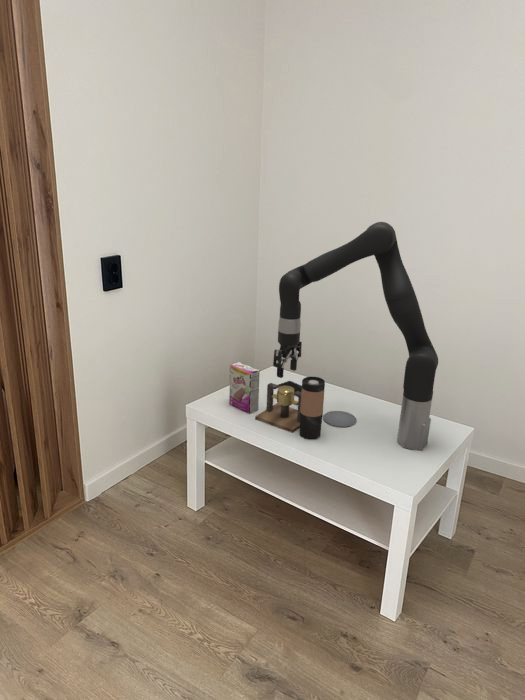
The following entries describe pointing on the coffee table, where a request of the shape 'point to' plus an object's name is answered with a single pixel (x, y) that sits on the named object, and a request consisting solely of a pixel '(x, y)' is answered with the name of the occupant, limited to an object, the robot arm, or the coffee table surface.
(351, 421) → the coaster
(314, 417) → the travel mug
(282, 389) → the brass pipe fitting
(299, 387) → the phone
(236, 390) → the candy bar box
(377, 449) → the coffee table surface
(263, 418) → the stand
